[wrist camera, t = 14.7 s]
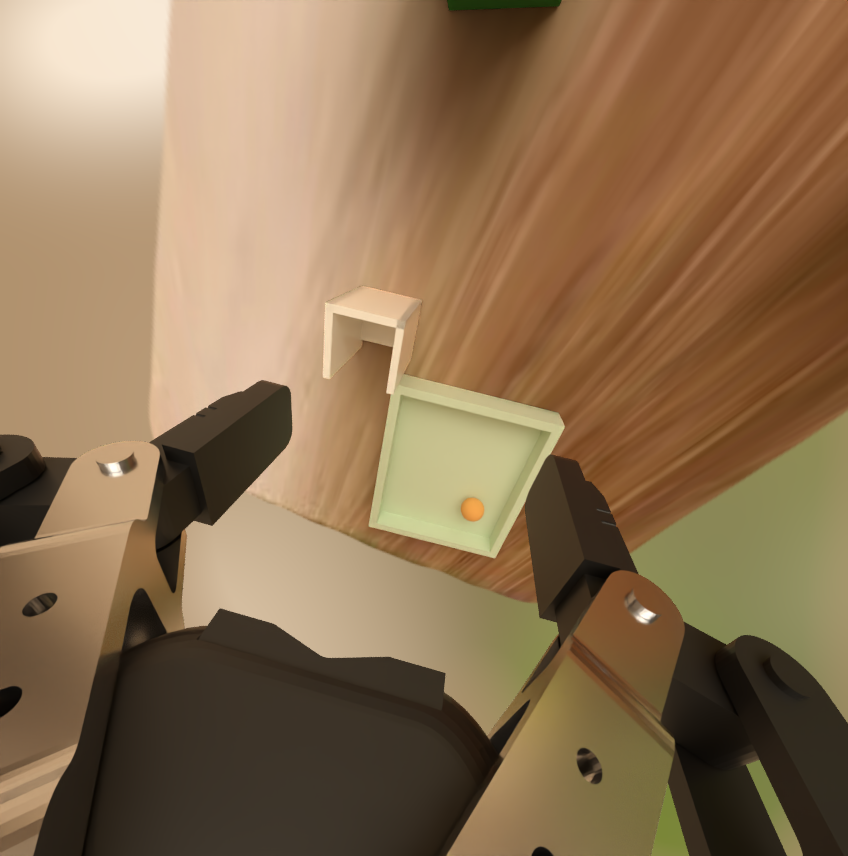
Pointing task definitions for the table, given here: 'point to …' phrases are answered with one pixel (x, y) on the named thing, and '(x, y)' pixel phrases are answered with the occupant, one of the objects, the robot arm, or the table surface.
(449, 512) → the tray
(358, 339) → the mini side table
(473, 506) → the mixing ball
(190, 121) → the table surface
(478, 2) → the milk carton
